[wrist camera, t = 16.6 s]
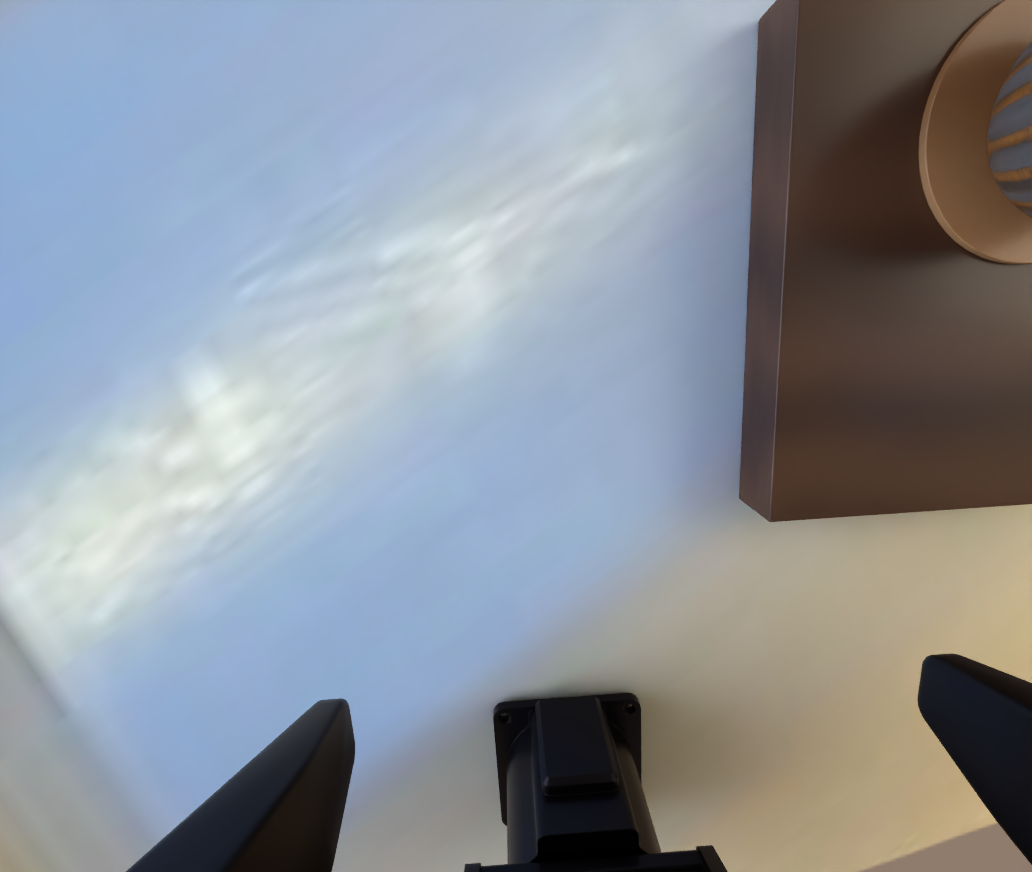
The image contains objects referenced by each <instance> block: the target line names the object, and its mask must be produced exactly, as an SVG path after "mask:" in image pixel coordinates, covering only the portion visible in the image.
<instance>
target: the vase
mask: <svg viewBox="0 0 1032 872" xmlns="http://www.w3.org/2000/svg"><path fill="white" fill-rule="evenodd" d="M987 152H988V159H989V164H990V168H991V171H992V173H993V176H994V179H995V181H996V183H997V185H998V186H999V188H1000V190H1001V191H1002V193H1003V194H1004V195H1005V197H1006V198H1007V199H1008V200H1009V201H1010V202H1011V203H1012V204H1013V205H1015V206H1016V207H1017V208H1018V209H1020V210H1021V211H1022V212H1023V213H1025V214H1026V215H1028V216H1029V217H1031V218H1032V41H1031V42H1030V43H1029V44H1028V46H1027V47H1026V48H1025V49H1024V51H1023V52H1022V53H1021V55H1020V56H1019V58H1018V59H1017V61H1016V62H1015V64H1014V65H1013V67H1012V69H1011V71H1010V72H1009V74H1008V76H1007V78H1006V80H1005V82H1004V83H1003V85H1002V87H1001V89H1000V91H999V94H998V96H997V98H996V101H995V104H994V107H993V110H992V114H991V118H990V123H989V129H988V137H987Z"/></svg>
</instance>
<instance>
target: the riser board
mask: <svg viewBox="0 0 1032 872" xmlns="http://www.w3.org/2000/svg"><path fill="white" fill-rule="evenodd" d="M1031 41H1032V0H776V1H775V3H774V4H773V5H772V6H771V7H770V8H769V9H768V11H767V12H766V13H765V14H764V15H763V16H762V17H761V19H760V20H759V28H758V53H757V77H756V102H755V126H754V151H753V176H752V200H751V225H750V249H749V274H748V299H747V323H746V348H745V372H744V397H743V422H742V446H741V471H740V495H739V498H740V499H741V500H742V501H743V502H745V503H746V504H747V505H748V506H750V507H751V508H752V509H754V510H755V511H756V512H757V513H759V514H760V515H761V516H763V517H764V518H765V519H767V520H768V521H769V522H776V521H791V520H805V519H820V518H834V517H849V516H863V515H878V514H892V513H907V512H922V511H936V510H951V509H965V508H980V507H994V506H1009V505H1023V504H1032V218H1031V217H1029V216H1028V215H1026V214H1025V213H1023V212H1022V211H1021V210H1020V209H1018V208H1017V207H1016V206H1015V205H1013V204H1012V203H1011V202H1010V201H1009V200H1008V199H1007V198H1006V197H1005V195H1004V194H1003V193H1002V191H1001V190H1000V188H999V186H998V185H997V183H996V181H995V179H994V176H993V173H992V171H991V168H990V164H989V159H988V152H987V137H988V129H989V123H990V118H991V114H992V110H993V107H994V104H995V101H996V98H997V96H998V94H999V91H1000V89H1001V87H1002V85H1003V83H1004V82H1005V80H1006V78H1007V76H1008V74H1009V72H1010V71H1011V69H1012V67H1013V65H1014V64H1015V62H1016V61H1017V59H1018V58H1019V56H1020V55H1021V53H1022V52H1023V51H1024V49H1025V48H1026V47H1027V46H1028V44H1029V43H1030V42H1031Z"/></svg>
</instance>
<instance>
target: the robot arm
mask: <svg viewBox="0 0 1032 872" xmlns="http://www.w3.org/2000/svg"><path fill="white" fill-rule="evenodd" d="M628 704H632V706H630V707H625V706H626V705H628ZM918 706H919V709H920V712H921V714H922V716H923V718H924V719H925V721H926V722H927V724H928V725H929V727H930V728H931V729H932V731H933V732H934V734H935V735H936V736H937V738H938V739H939V741H940V742H941V744H942V745H943V746H944V748H945V749H946V751H947V752H948V754H949V755H950V756H951V758H952V759H953V761H954V762H955V763H956V765H957V766H958V768H959V769H960V771H961V772H962V773H963V775H964V776H965V778H966V779H967V780H968V782H969V783H970V785H971V786H972V788H973V789H974V790H975V792H976V793H977V795H978V796H979V797H980V799H981V800H982V802H983V803H984V805H985V806H986V807H987V809H988V810H989V811H990V813H991V814H992V815H993V817H994V818H995V820H996V821H997V822H998V824H999V825H1000V826H1001V827H1002V828H1003V830H1004V831H1005V832H1006V834H1007V835H1008V836H1009V837H1010V839H1011V840H1012V841H1013V842H1014V844H1015V845H1016V846H1017V847H1018V848H1019V850H1020V851H1021V852H1022V853H1023V855H1024V856H1025V857H1026V858H1027V860H1028V861H1029V862H1030V863H1031V864H1032V683H1030V682H1027V681H1025V680H1022V679H1020V678H1017V677H1015V676H1012V675H1009V674H1007V673H1004V672H1002V671H999V670H997V669H994V668H991V667H989V666H986V665H984V664H981V663H979V662H976V661H973V660H971V659H968V658H966V657H963V656H961V655H957V654H939V655H930V656H928V657H926V658H925V660H924V661H923V664H922V670H921V678H920V685H919V692H918ZM504 713H506V714H508V716H502V715H501V714H504ZM493 720H494V732H495V743H496V755H497V767H498V779H499V791H500V802H501V814H502V821H503V823H504V824H505V825H506V826H507V844H508V864H506V865H492V866H481V863H474V864H465V870H464V872H727V870H726V868H725V866H724V865H723V863H722V861H721V859H720V858H719V856H718V854H717V852H716V851H715V849H714V847H713V846H712V845H710V846H697V847H696V850H689V851H675V852H662V853H661V850H660V846H659V843H658V839H657V836H656V833H655V829H654V826H653V823H652V819H651V816H650V813H649V809H648V806H647V802H646V799H645V796H644V792H643V789H642V786H641V707H640V703H639V700H638V698H637V697H636V695H634V694H632V693H620V694H606V695H592V696H578V697H565V698H551V699H537V700H523V701H510V702H502V703H499V704H497V705H496V706H495V708H494V716H493ZM354 758H355V740H354V734H353V727H352V721H351V715H350V709H349V705H348V703H347V701H346V700H344V699H329V700H321V701H318V702H317V703H316V704H314V705H313V706H312V707H311V708H310V709H309V710H308V711H306V712H305V713H304V714H303V715H302V716H301V717H300V718H299V719H297V720H296V721H295V722H294V723H293V724H292V725H291V726H290V727H288V728H287V729H286V730H285V731H284V732H283V733H282V734H281V735H279V736H278V737H277V738H276V739H275V740H274V741H273V742H272V743H270V744H269V745H268V746H267V747H266V748H265V749H264V750H263V751H261V752H260V753H259V754H258V755H257V756H256V757H255V758H254V759H252V760H251V761H250V762H249V763H248V764H247V765H246V766H244V767H243V768H242V769H241V770H240V771H239V772H238V773H237V774H235V775H234V776H233V777H232V778H231V779H230V780H229V781H228V782H226V783H225V784H224V785H223V786H222V787H221V788H220V789H219V790H217V791H216V792H215V793H214V794H213V795H212V796H211V797H210V798H208V799H207V800H206V801H205V802H204V803H203V804H202V805H201V806H199V807H198V808H197V809H196V810H195V811H194V812H193V813H192V814H190V815H189V816H188V817H187V818H186V819H185V820H184V821H183V822H181V823H180V824H179V825H178V826H177V827H176V828H175V829H173V830H172V831H171V832H170V833H169V834H168V835H167V836H166V837H164V838H163V839H162V840H161V841H160V842H159V843H158V844H157V845H155V846H154V847H153V848H152V849H151V850H150V851H149V852H148V853H146V854H145V855H144V856H143V857H142V858H141V859H140V860H139V861H137V862H136V863H135V864H134V865H133V866H132V867H131V868H130V869H128V870H127V871H126V872H331V871H332V867H333V862H334V858H335V853H336V848H337V843H338V838H339V833H340V828H341V823H342V818H343V813H344V808H345V803H346V798H347V793H348V788H349V784H350V779H351V774H352V769H353V764H354Z"/></svg>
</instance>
